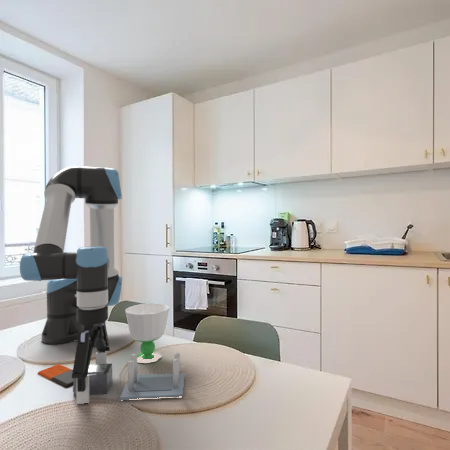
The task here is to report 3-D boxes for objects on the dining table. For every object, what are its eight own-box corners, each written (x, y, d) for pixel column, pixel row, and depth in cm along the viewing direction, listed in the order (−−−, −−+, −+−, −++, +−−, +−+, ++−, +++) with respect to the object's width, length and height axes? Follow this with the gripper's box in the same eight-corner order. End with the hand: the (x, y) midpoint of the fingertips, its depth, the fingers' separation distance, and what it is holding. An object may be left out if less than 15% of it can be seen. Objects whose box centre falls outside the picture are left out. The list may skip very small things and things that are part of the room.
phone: (59, 362, 95) (89, 375, 87) (59, 367, 95) (89, 380, 87) (36, 371, 89) (66, 385, 81) (36, 375, 89) (66, 390, 81)
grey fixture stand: (130, 379, 86) (130, 349, 86) (184, 376, 87) (184, 348, 87) (119, 401, 75) (119, 368, 75) (182, 398, 76) (182, 365, 76)
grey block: (79, 384, 83) (79, 364, 83) (112, 382, 84) (112, 362, 84) (72, 397, 77) (72, 374, 77) (107, 394, 79) (106, 372, 79)
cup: (155, 370, 91) (154, 316, 91) (115, 364, 95) (115, 312, 95) (177, 352, 104) (176, 304, 104) (141, 347, 108) (141, 301, 108)
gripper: (94, 295, 93) (94, 367, 93) (55, 320, 68) (55, 418, 68) (119, 295, 94) (120, 366, 94) (90, 319, 69) (90, 416, 69)
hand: (92, 388), depth 81 cm, fingers open, 13 cm apart
